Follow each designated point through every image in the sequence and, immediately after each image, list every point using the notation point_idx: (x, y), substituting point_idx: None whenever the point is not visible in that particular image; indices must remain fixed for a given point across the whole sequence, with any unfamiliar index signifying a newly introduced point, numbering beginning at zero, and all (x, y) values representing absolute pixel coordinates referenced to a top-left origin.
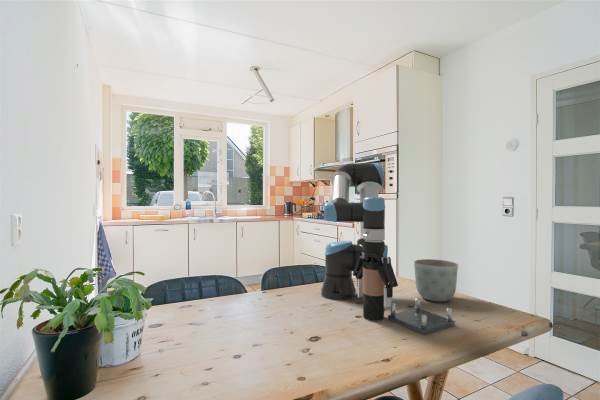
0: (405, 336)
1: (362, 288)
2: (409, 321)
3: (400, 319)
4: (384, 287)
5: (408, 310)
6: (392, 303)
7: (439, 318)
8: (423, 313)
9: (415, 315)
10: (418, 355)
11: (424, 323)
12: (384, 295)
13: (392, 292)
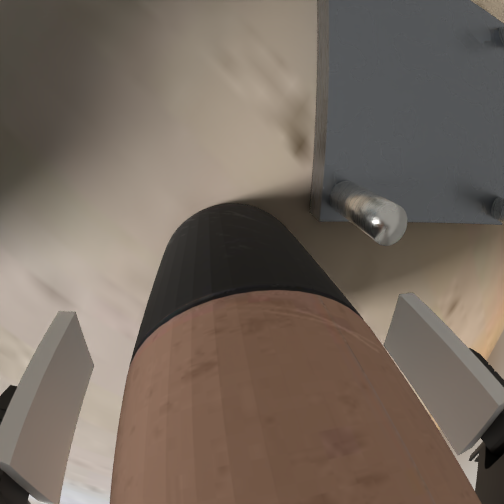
0: (451, 288)
1: (59, 391)
2: (444, 193)
3: (406, 212)
4: (462, 452)
5: (334, 16)
6: (379, 220)
7: (483, 35)
8: (416, 9)
9: (418, 75)
10: (490, 332)
11: None
12: (431, 404)
13: (496, 374)
